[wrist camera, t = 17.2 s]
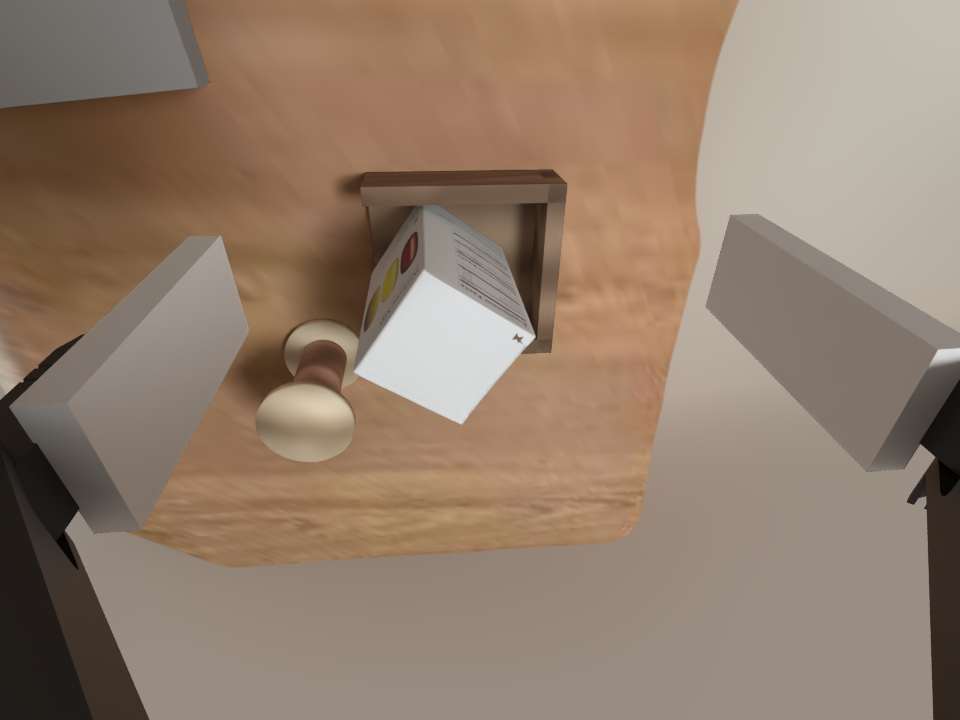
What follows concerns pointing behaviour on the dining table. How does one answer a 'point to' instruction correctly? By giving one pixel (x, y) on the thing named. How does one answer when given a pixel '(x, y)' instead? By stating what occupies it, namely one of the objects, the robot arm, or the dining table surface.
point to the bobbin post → (312, 394)
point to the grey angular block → (95, 50)
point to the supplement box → (441, 315)
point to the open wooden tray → (486, 224)
